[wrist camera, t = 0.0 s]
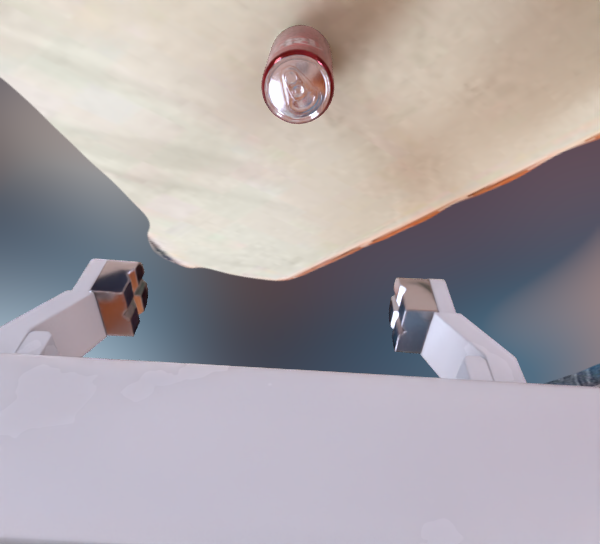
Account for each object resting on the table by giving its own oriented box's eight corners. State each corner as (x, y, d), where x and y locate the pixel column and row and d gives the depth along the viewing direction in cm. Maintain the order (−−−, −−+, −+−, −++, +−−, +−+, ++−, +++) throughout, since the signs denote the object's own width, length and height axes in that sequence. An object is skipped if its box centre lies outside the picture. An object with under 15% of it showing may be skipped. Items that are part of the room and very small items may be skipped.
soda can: (340, 74, 57) (345, 109, 48) (286, 98, 59) (280, 136, 50) (317, 12, 53) (317, 37, 44) (259, 40, 55) (247, 70, 46)
